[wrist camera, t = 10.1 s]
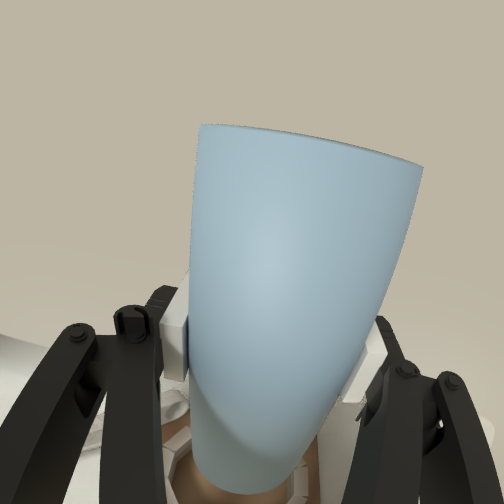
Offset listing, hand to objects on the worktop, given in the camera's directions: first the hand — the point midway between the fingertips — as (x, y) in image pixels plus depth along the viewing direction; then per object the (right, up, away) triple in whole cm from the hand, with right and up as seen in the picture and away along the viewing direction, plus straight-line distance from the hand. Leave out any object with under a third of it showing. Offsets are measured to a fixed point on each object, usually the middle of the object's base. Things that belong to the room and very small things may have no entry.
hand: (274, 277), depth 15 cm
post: (-2, -10, -1) cm, 10 cm away
